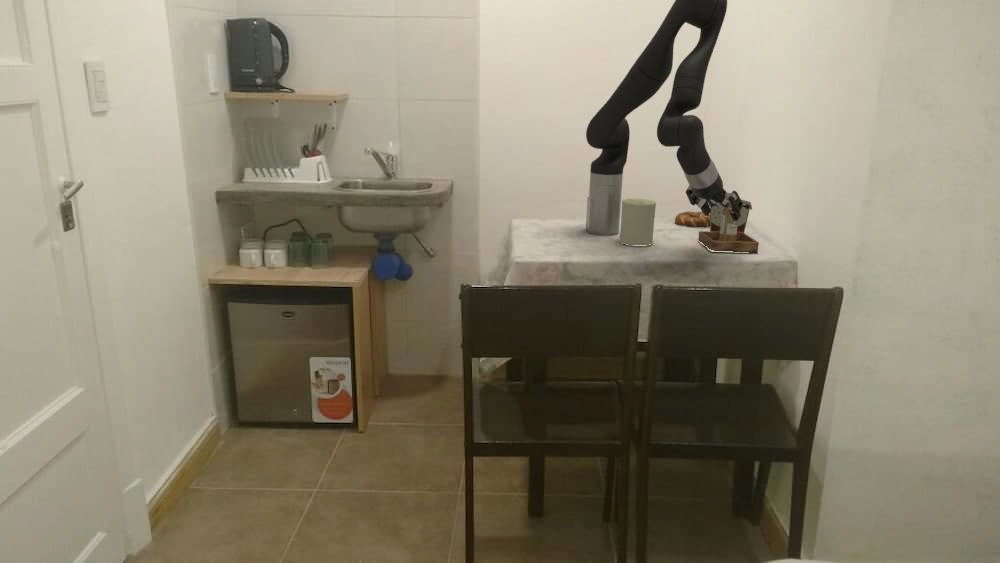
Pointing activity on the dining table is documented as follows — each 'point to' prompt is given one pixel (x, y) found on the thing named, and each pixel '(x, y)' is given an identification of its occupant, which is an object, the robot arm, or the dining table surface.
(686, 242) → the dining table surface
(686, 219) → the pretzel
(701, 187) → the robot arm
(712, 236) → the box
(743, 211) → the food container
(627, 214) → the can
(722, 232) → the sprinkles bottle
